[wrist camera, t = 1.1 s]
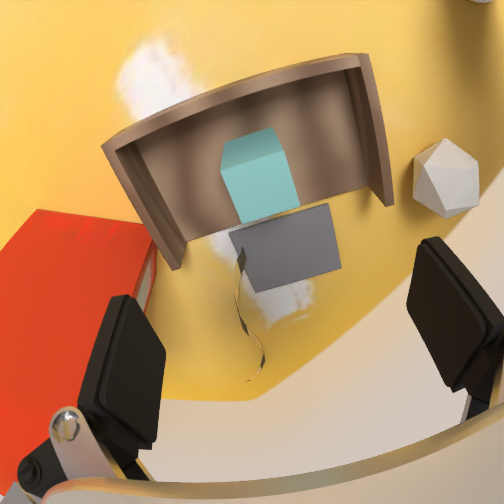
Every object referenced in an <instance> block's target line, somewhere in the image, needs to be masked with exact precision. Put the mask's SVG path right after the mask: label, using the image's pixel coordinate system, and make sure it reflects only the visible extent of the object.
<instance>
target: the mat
mask: <svg viewBox="0 0 504 504" xmlns="http://www.w3.org/2000/svg"><path fill="white" fill-rule="evenodd" d="M229 236H230V238H231V240H232V243H233V245H234V247H235V249H236V251H237V253H238V256H240V253H241V250H242V247H243V248H244V252H245V255H246V262H245V265H244V269H245V271H246V273H247V275H248V277H249V279H250V281H251V284H252V286H253V288H254V290H255V292H256V293H258V292H261V291H265V290H268V289H272V288H276V287H279V286H283V285H286V284H290V283H293V282H297V281H300V280H304V279H307V278H311V277H314V276H317V275H321V274H324V273H327V272H331V271H334V270H337V269H341V262H340V257H339V252H338V247H337V241H336V237H335V232H334V227H333V222H332V217H331V213H330V208H329V204H328V203H325V204H322V205H318V206H315V207H312V208H308V209H305V210H301V211H298V212H295V213H291V214H288V215H285V216H282V217H278V218H275V219H272V220H268V221H265V222H262V223H259V224H256V225H252V226H249V227H246V228H243V229H239V230H236V231H233V232H230V233H229Z"/></svg>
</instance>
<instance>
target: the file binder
mask: <svg viewBox="0 0 504 504" xmlns="http://www.w3.org/2000/svg"><path fill="white" fill-rule="evenodd" d="M156 251H157V246H156V244H155V242H154V241H153V239H152V237H151V236H150V234H149V232H148V231H147V229H146V227H145V226H144V224H138V223H131V222H124V221H117V220H110V219H103V218H96V217H89V216H82V215H75V214H67V213H60V212H53V211H46V210H38V209H37V210H36V211H35V212H34V213H33V214H32V215H31V216H30V217H29V218H28V219H27V221H26V222H25V223H24V224H23V225H22V226H21V227H20V228H19V230H18V231H17V232H16V233H15V234H14V235H13V237H12V238H11V239H10V240H9V241H8V243H7V244H6V245H5V246H4V248H3V249H2V250H1V251H0V494H1V495H3V496H5V495H6V493H7V492H8V490H9V489H10V487H11V486H12V484H13V483H14V481H17V482H18V478H17V470H18V466H19V464H20V462H21V460H22V459H23V458H24V457H26V456H27V455H28V454H29V453H31V452H32V451H33V450H34V449H36V448H37V447H38V446H39V445H41V444H42V443H43V442H44V441H46V440H47V439H48V438H49V437H50V435H49V424H50V421H51V419H52V417H53V415H54V414H55V413H56V412H57V411H58V410H59V409H61V408H63V407H67V406H72V407H75V408H77V405H78V403H77V400H78V396H79V392H80V389H81V385H82V382H83V378H84V375H85V372H86V368H87V365H88V362H89V359H90V355H91V352H92V349H93V346H94V343H95V340H96V337H97V334H98V331H99V328H100V326H101V323H102V320H103V317H104V315H105V312H106V309H107V306H108V304H109V301H110V299H111V297H113V296H118V295H124V294H129V295H130V296H131V298H135V299H136V300H137V302H138V304H139V305H140V307H141V309H142V311H143V313H144V314H145V312H146V308H147V304H148V301H149V297H150V293H151V290H152V286H153V283H154V279H155V276H156Z"/></svg>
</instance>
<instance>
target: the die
mask: <svg viewBox="0 0 504 504" xmlns="http://www.w3.org/2000/svg"><path fill="white" fill-rule="evenodd" d="M413 199H415V200H416V201H418V202H420V203H421V204H423V205H424V206H426V207H427V208H429V209H431V210H432V211H434V212H435V213H437V214H438V215H440V216H441V217H443V218H444V219H447V218H450V217H452V216H455V215H457V214H459V213H462V212H464V211H466V210H469V209H471V208H474V207H476V206H478V205H479V164H478V161H477V160H475V159H474V158H473V157H471V156H470V155H469V154H468V153H466V152H465V151H464V150H462V149H461V148H460V147H458V146H457V145H455V144H454V143H453V142H451V141H450V140H448V139H447V138H444V139H442V140H440V141H439V142H437V143H436V144H434V145H432V146H431V147H429V148H427V149H426V150H424V151H422V152H421V153H419V154H418V155H416V156H414V175H413Z"/></svg>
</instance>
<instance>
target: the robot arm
mask: <svg viewBox="0 0 504 504" xmlns="http://www.w3.org/2000/svg"><path fill="white" fill-rule="evenodd" d="M470 1H474V2H479V3H486V2H491V1H493V0H470ZM406 306H407V310H408V313H409V314H410V316H411V318H412V320H413V322H414V324H415V325H416V327H417V329H418V331H419V333H420V335H421V337H422V339H423V341H424V342H425V344H426V346H427V348H428V350H429V352H430V354H431V356H432V358H433V360H434V362H435V364H436V367H437V369H438V371H439V373H440V375H441V377H442V379H443V381H444V383H445V385H446V386H447V387H450V388H451V390H452V392H453V393H454V392H456V391H459V390H461V389H463V388H466V390H467V392H468V396H467V400H466V404H465V407H464V411H463V414H462V418H461V421H460V424H458V425H456V426H454V427H452V428H449V429H447V430H445V431H443V432H440V433H438V434H436V435H434V436H431V437H429V438H426V439H424V440H421V441H419V442H416V443H414V444H411V445H408V446H405V447H403V448H400V449H397V450H394V451H391V452H388V453H385V454H382V455H378V456H376V457H372V458H368V459H365V460H361V461H358V462H354V463H350V464H346V465H342V466H338V467H334V468H329V469H325V470H320V471H315V472H309V473H304V474H298V475H292V476H285V477H278V478H270V479H260V480H250V481H238V482H219V483H218V482H216V483H180V482H156V481H155V480H154V478H153V477H152V476H151V474H150V473H149V472H148V470H147V469H146V468H145V466H144V465H143V464H142V462H141V461H140V459H139V458H138V451H139V449H146V450H152V443H154V442H155V441H156V438H157V429H158V419H159V409H160V400H161V392H162V384H163V376H164V368H165V361H166V351H165V348H164V346H163V344H162V343H161V341H160V340H159V338H158V336H157V335H156V333H155V331H154V330H153V328H152V326H151V325H150V323H149V321H148V319H147V318H146V316H145V314H144V313H143V311H142V309H141V307H140V305H139V304H138V302H137V300H136V299H135V298H131V296H130V295H129V294H124V295H118V296H113V297H111V299H110V301H109V304H108V306H107V309H106V312H105V315H104V317H103V320H102V323H101V326H100V328H99V331H98V334H97V337H96V340H95V343H94V346H93V349H92V352H91V355H90V359H89V362H88V365H87V368H86V372H85V375H84V378H83V382H82V385H81V389H80V392H79V396H78V400H77V403H78V405H77V408H75V407H72V406H67V407H63V408H61V409H59V410H58V411H57V412H56V413H55V414H54V415H53V417H52V419H51V421H50V424H49V435H50V437H49V438H48V439H47V440H46V441H44V442H43V443H42V444H41V445H39V446H38V447H37V448H36V449H34V450H33V451H32V452H31V453H29V454H28V455H27V456H26V457H24V458H23V459H22V460H21V462H20V464H19V466H18V470H17V478H18V482H17V481H14V483H13V484H12V486H11V487H10V489H9V490H8V492H7V493H6V495H5V497H4V498H3V500H2V501H1V503H0V504H504V316H503V315H502V313H501V312H500V310H499V309H498V308H497V306H496V305H495V304H494V302H493V301H492V299H491V298H490V297H489V295H488V294H487V293H486V292H485V290H484V289H483V288H482V286H481V285H480V284H479V283H478V282H477V280H476V279H475V278H474V276H473V275H472V274H471V273H470V271H469V270H468V269H467V268H466V267H465V265H464V264H463V263H462V262H461V261H460V260H459V258H458V257H457V256H456V255H455V254H454V253H453V251H452V250H451V249H450V248H449V247H448V246H447V245H446V244H445V242H444V241H443V240H442V239H441V238H440V237H437V236H436V237H431V238H426V239H423V240H422V241H421V244H420V245H418V247H417V252H416V258H415V263H414V269H413V274H412V279H411V284H410V289H409V293H408V298H407V303H406Z"/></svg>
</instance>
